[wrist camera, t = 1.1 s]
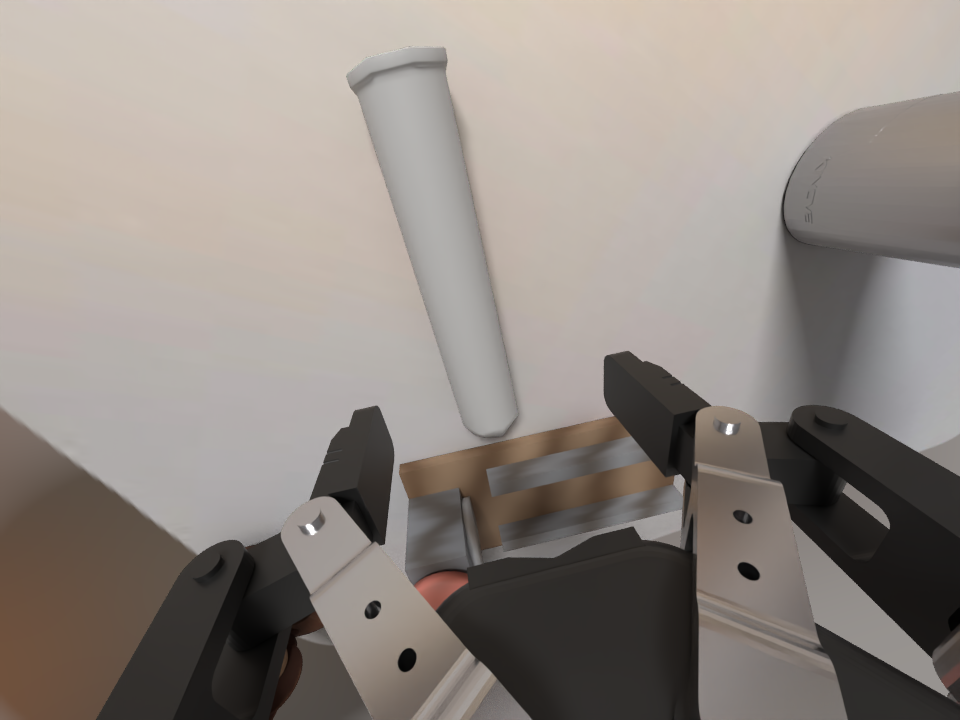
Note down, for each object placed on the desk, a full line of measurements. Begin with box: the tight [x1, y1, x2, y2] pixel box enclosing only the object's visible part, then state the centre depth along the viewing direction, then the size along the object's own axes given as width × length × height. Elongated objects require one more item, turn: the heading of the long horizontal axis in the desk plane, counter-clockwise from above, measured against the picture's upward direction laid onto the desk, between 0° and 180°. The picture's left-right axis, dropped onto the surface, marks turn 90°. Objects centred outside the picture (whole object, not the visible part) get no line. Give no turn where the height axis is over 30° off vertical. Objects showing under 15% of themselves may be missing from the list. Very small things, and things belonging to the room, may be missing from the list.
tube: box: [346, 46, 518, 437], centre depth 24 cm, size 5×5×25 cm
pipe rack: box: [399, 416, 683, 611], centre depth 32 cm, size 28×14×10 cm, turn 100°
